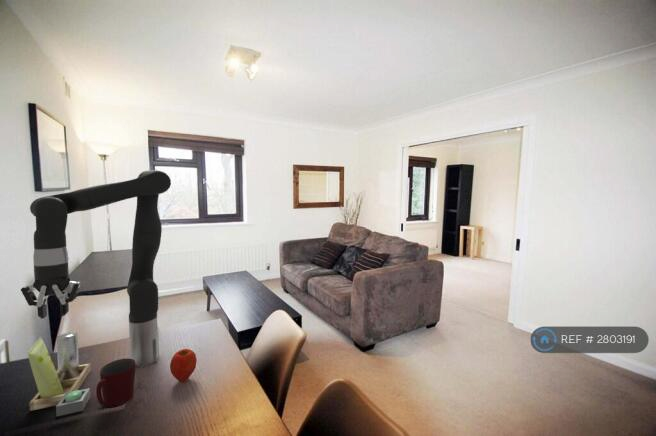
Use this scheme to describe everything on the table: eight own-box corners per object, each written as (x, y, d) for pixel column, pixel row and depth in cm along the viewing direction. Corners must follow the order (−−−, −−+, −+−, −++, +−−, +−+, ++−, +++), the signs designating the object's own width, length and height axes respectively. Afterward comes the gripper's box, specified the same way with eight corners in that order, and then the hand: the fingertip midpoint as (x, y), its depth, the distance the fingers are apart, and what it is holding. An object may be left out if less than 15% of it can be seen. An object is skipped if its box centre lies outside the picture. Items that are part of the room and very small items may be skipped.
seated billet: (81, 374, 99) (80, 330, 98) (75, 383, 95) (73, 337, 94) (62, 377, 97) (60, 333, 96) (55, 387, 93) (53, 340, 92)
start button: (83, 398, 87) (83, 388, 87) (79, 406, 83) (78, 396, 83) (69, 401, 85) (68, 392, 85) (63, 410, 82) (63, 399, 82)
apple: (201, 380, 99) (200, 351, 98) (175, 392, 93) (174, 361, 92) (191, 369, 105) (191, 342, 104) (166, 380, 99) (166, 351, 98)
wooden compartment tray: (91, 372, 102) (90, 363, 102) (70, 405, 86) (69, 394, 86) (58, 378, 98) (57, 369, 98) (30, 413, 82) (29, 402, 82)
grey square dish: (90, 400, 88) (89, 388, 88) (83, 413, 83) (82, 400, 83) (66, 405, 86) (65, 393, 86) (56, 419, 81) (56, 406, 80)
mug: (113, 418, 81) (112, 382, 81) (84, 417, 82) (82, 381, 81) (142, 390, 93) (141, 358, 93) (116, 389, 94) (115, 358, 93)
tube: (68, 393, 89) (50, 340, 84) (47, 406, 84) (27, 352, 79) (58, 387, 91) (40, 336, 86) (38, 400, 86) (18, 347, 81)
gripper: (11, 266, 79) (15, 325, 80) (75, 263, 85) (78, 317, 86) (27, 261, 86) (29, 315, 87) (85, 258, 92) (87, 308, 93)
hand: (53, 316), depth 87 cm, fingers open, 4 cm apart
